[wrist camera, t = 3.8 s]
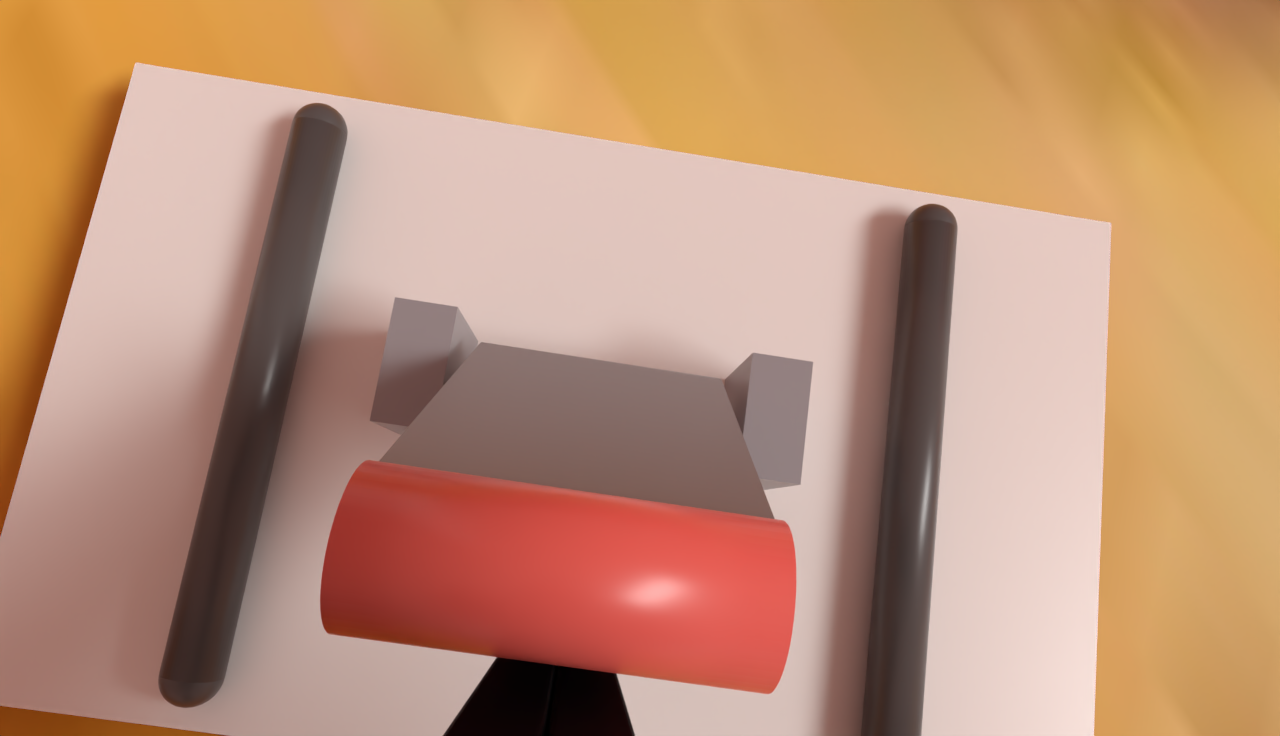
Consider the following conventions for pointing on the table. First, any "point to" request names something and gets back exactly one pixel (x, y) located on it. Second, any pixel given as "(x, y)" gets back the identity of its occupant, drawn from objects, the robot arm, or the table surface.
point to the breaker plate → (564, 324)
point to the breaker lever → (569, 527)
